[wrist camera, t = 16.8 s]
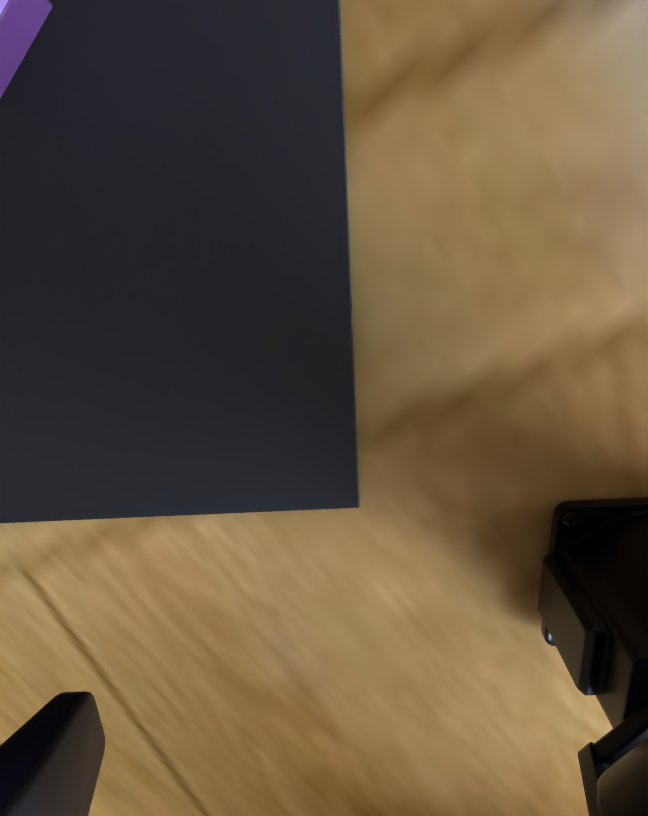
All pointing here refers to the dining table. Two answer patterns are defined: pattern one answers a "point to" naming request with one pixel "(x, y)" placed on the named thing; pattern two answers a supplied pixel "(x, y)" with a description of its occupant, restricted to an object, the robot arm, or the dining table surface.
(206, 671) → the dining table surface
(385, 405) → the dining table surface
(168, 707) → the dining table surface
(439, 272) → the dining table surface
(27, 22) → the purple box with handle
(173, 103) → the placemat
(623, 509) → the robot arm
